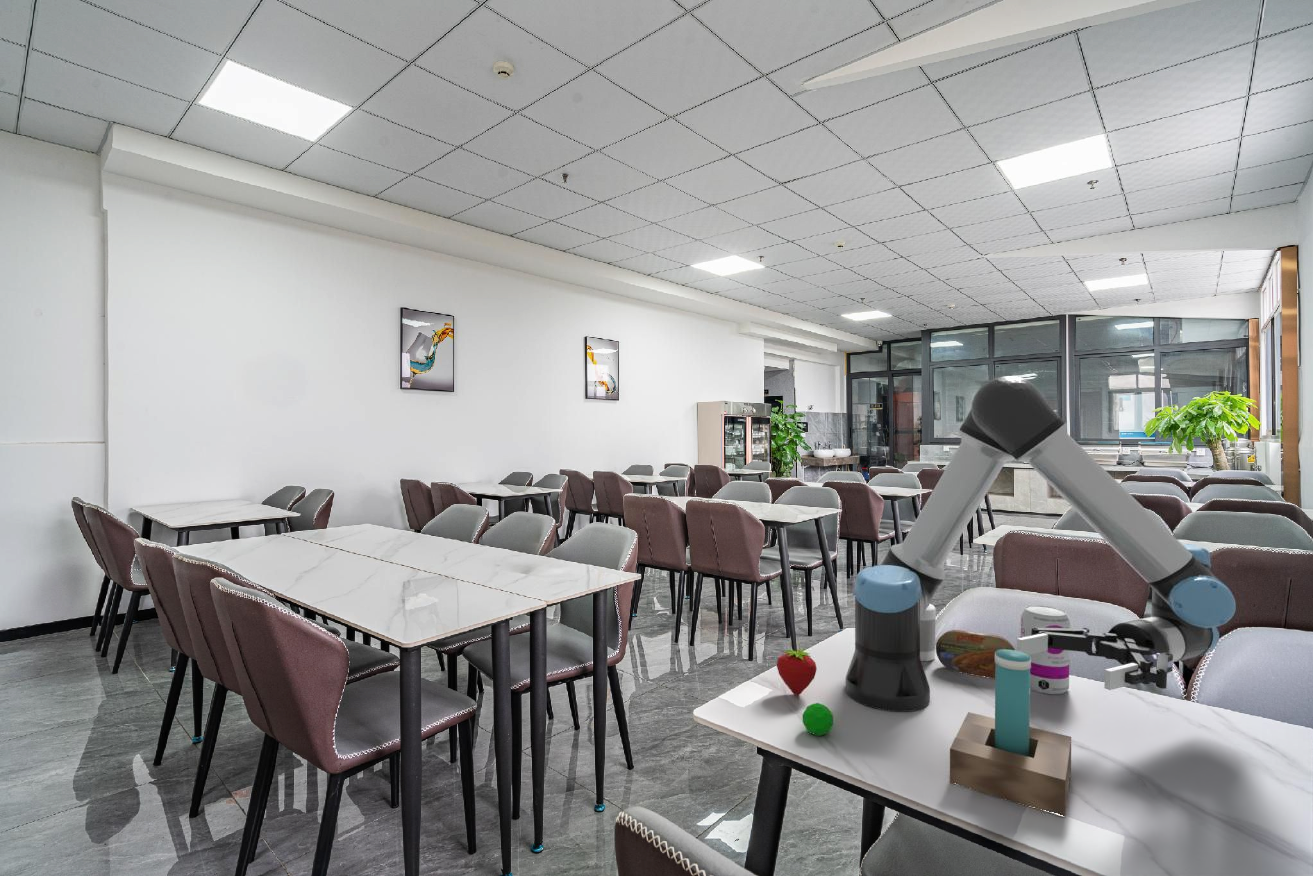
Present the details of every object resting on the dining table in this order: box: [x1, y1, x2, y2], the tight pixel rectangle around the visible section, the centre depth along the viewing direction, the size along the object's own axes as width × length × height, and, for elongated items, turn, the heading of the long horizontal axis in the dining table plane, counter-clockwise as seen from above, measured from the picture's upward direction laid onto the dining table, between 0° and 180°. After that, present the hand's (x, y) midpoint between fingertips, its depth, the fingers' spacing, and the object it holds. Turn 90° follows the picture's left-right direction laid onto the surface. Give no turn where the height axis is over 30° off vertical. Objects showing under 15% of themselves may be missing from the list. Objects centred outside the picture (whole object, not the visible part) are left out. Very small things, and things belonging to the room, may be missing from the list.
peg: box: [994, 649, 1031, 757], centre depth 93 cm, size 5×5×18 cm
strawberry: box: [776, 641, 818, 696], centre depth 121 cm, size 6×8×10 cm
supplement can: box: [1020, 604, 1071, 695], centre depth 124 cm, size 8×8×15 cm
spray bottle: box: [920, 603, 937, 662], centre depth 141 cm, size 7×7×18 cm
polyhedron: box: [802, 702, 834, 736], centre depth 106 cm, size 5×5×5 cm
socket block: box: [949, 711, 1072, 817], centre depth 93 cm, size 14×14×5 cm
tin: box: [935, 629, 1016, 680], centre depth 131 cm, size 15×3×8 cm, turn 58°
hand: (1060, 662), depth 97 cm, fingers open, 13 cm apart
